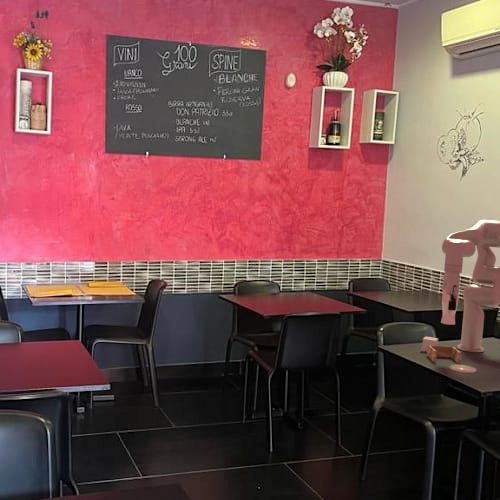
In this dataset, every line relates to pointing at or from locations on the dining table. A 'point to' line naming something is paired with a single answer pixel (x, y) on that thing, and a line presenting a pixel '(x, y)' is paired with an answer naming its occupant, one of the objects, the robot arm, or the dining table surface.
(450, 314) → the beer glass
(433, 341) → the pale pink cube
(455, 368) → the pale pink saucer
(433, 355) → the wooden u-shaped bracket
